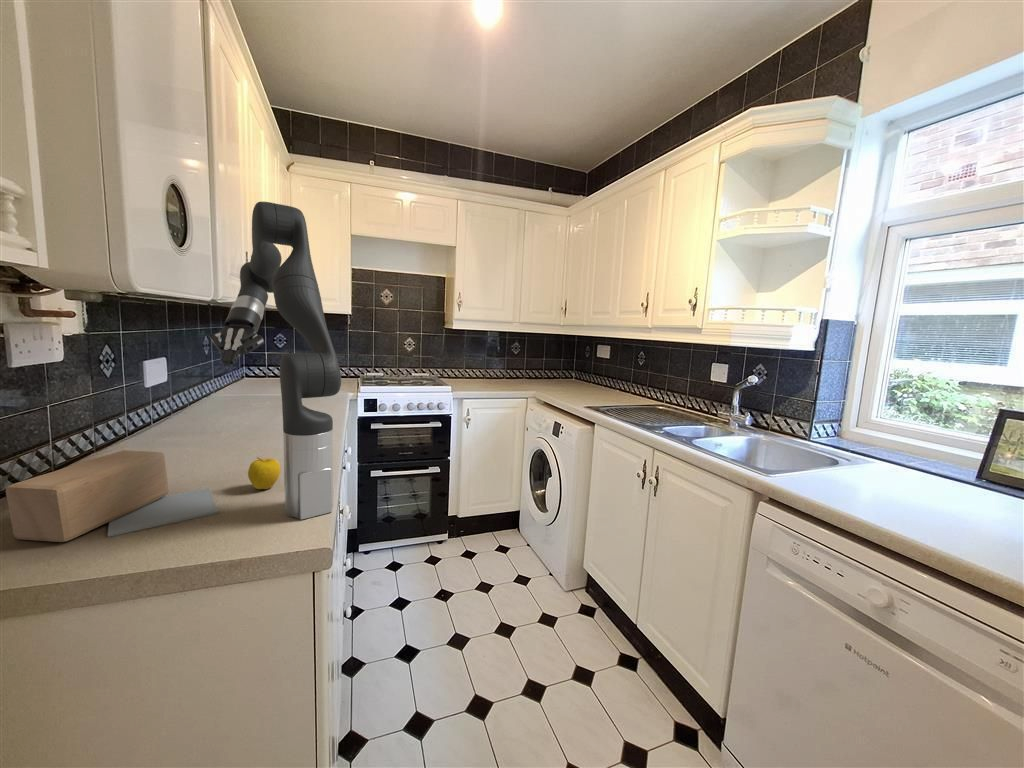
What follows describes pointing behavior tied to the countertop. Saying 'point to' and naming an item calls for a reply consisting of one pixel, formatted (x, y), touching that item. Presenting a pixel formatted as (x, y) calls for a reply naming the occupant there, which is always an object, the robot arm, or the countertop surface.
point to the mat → (165, 511)
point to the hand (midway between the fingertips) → (227, 364)
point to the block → (85, 495)
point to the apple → (264, 473)
